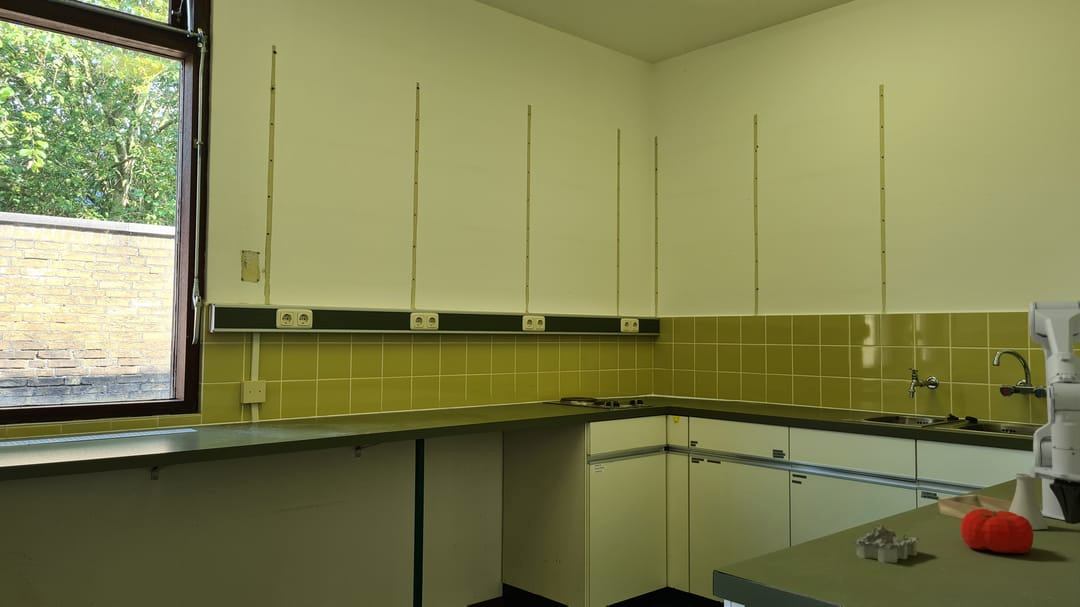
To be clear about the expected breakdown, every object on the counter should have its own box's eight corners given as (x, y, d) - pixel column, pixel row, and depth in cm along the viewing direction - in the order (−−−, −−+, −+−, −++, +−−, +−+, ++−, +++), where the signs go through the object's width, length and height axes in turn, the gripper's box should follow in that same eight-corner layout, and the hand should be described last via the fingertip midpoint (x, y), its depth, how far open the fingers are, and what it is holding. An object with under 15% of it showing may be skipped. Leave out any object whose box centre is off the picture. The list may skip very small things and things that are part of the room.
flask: (1035, 522, 159) (1033, 471, 159) (1056, 531, 151) (1054, 478, 152) (997, 522, 159) (995, 471, 160) (1016, 530, 152) (1014, 477, 152)
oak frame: (976, 508, 172) (975, 494, 172) (1025, 519, 161) (1024, 504, 162) (937, 513, 167) (937, 498, 168) (985, 524, 157) (985, 508, 157)
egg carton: (883, 547, 142) (882, 523, 142) (924, 556, 135) (924, 531, 136) (848, 556, 135) (847, 531, 135) (890, 566, 129) (889, 540, 129)
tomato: (960, 540, 145) (959, 504, 145) (1031, 547, 140) (1029, 509, 140) (962, 553, 136) (960, 514, 136) (1037, 561, 131) (1036, 520, 131)
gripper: (1018, 444, 153) (1020, 516, 152) (1095, 454, 139) (1098, 533, 139) (1043, 443, 155) (1045, 513, 155) (1122, 452, 142) (1125, 529, 141)
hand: (1072, 523), depth 147 cm, fingers closed
